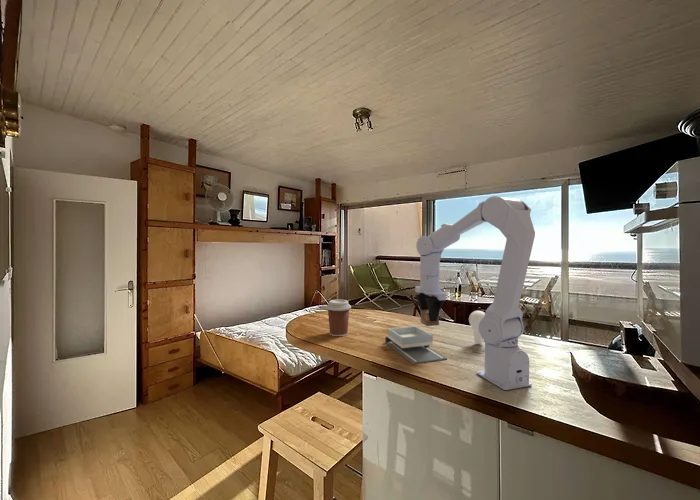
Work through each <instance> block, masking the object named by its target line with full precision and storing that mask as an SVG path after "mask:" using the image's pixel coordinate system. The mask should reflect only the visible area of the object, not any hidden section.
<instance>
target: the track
mask: <svg viewBox="0 0 700 500" xmlns="http://www.w3.org/2000/svg"><path fill="white" fill-rule="evenodd" d="M384 341H385V342H384V343H385V344H387V345H388V346H389V347H390V348H392V349H393V350H394V351H395V352H396V353H398V354H399V355H400V356H401V357H403V358H404V359H405V360H407V361H408V362H409V363H410V364H412V365H416V364H423V363H424V364H426V363H431V362H432V363H433V362H437V361H438V362H439V361H444V360H445V361H447V360H448V358H447V356H445V355H443V354H441V353H440V352H438V351H436V350H435V349H433V348H432V347H430V346H429V348H425V347H424V346H417V347H408V348H407V350H404V351H403V350H402V348H401V347H400V346H399V345H397V344H396V343H395V342H391V339H389V338H388V336H385V338H384Z"/></svg>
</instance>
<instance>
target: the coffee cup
mask: <svg viewBox="0 0 700 500" xmlns="http://www.w3.org/2000/svg"><path fill="white" fill-rule="evenodd" d="M325 309H326V310H327V315H328V316H327V317H328V325H329V335H330V336H331V335H332V336H331V337H334V336H343V337H346V336H348V333H349V331H348V329H349V320H350V319H349V317H350V310H352V305H350V303H349V301H348V300H347V299H340V298H339V299H331V300H329V301H328V304H327V305H326V306H325ZM345 335H346V336H345Z"/></svg>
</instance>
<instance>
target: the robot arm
mask: <svg viewBox="0 0 700 500" xmlns="http://www.w3.org/2000/svg"><path fill="white" fill-rule="evenodd" d="M531 212H532V209H531V208H530V206H529V205H528V204H526V202H524V200H522V199H520V198H508V197H503V196H497V195H493V196H490V197H488V198H486V199H485V200H484V201H483V200H482V202H479V203H478V205H477V206H476V208H474V209H473V210H471V211H469V212H468V213H467V214H466V215H464V216H463V217H462V218H460V219H459V220H457V221H456V222H455V223H454V224H453V223H442V224H441V225H440V228H438V229H437V230H435V231H432V232H430V234H429V235H427V236H426V235H421V236H420V238H418V239H417V241H416V251H417V253H418V254H419V255H420V258H419V259H420V261H419V263H420V264H419V266H420V270H419V273H420V275H419V276H420V278H419V279H420V280H419V285H416V286H415V287H414V291H415V293H419V294H415V296H414V297H415V299H416V301H417V303H418V306H419V310H420V311H421V310H428V311H429V319H430V321H437V318H438V315H439V316H440V312H441V308H442V306H443V305H444V304H445V301H446V300H447V293H445V292H443V291H442V290H441V289H440V266H441V265H440V264H441V263H440V261H441V259H442V254H443V252H444V250H445V249H446V248H448V247H449V246H452V245H453V244H455V243H457V242H459V240H460V238H461V235H462V234H464V233H465V232H469V231H470V230H472V229H474V228H475V227H477V226H480V225H482V224H484V223H488V224H490V225H492V226H493V227H494V228H496V229H498V230H499V231H500V233H502V235H503V236H504V238H505V239H506V241H505V245H504V251H503V254H502V259H501V265H500V269H499V273H498V277H497V278H498V279H497V283H496V288H495V292H494V298H493V301H492V303H491V304H490V305H489V306H488V307H487V309H486V310H485V312H484V313H485V316H484V318H483V319H482V320H481V321H480V323H479V333H480V335H481V337H482V338H483V343H484V369H482V370H477V371H476V374H478V376H480V377H482V378H483V379H486V381H489V382H491V383H492V384H493V385H495V386H497V387H499V388H500V389H502V390H504V391H508V390H514V389H519V388H525V387H531V386H532V385H533V384H532V383H533V382H532V383H531V381H530V357H529V355H528V353H527V352H525V351H524V350H522V349H521V348H520V346H519V344H518V343H519V337H521V336H522V335H523V332H524V331H525V330H524V329H525V327H524V323H523V315H524V312H523V310H521V308H520V307H519V306H520V301H521V297H522V292H523V288H524V284H525V280H526V277H527V276H526V275H527V271H528V266H529V263H530V257H531V254H532V249H533V245H534V241H535V238H536V232H535V228H534V224H533V221H532V217H531Z"/></svg>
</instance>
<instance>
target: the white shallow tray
mask: <svg viewBox="0 0 700 500" xmlns="http://www.w3.org/2000/svg"><path fill="white" fill-rule="evenodd" d="M387 332H388V333H387V337H388V338H389V339H391V342H395V343H396V344H397V345H399V346H400V347H401V348H402V350H403V351H404V350H407V348H408V347H417V346H424V347H425V348H429V347H430V346H433V337H434V336H433V334H431V333H429V332H427V331H425V329H422V328H420V327H418V326H416V325H414V326H401V327H392V328H390V327H389V328H387Z"/></svg>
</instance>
